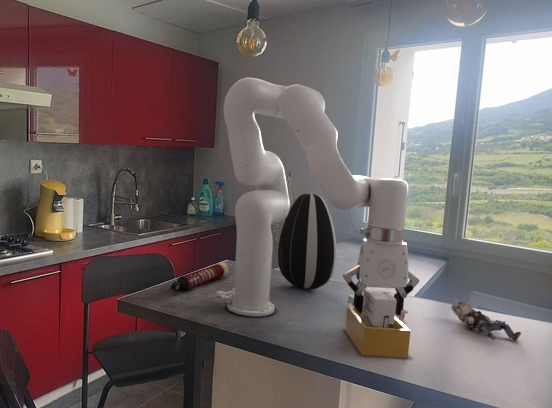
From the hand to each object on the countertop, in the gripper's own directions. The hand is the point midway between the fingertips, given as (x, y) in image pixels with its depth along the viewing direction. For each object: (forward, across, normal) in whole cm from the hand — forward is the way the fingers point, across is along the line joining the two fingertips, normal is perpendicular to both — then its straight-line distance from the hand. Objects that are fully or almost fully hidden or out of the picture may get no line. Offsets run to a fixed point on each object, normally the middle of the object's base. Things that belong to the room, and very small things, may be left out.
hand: (377, 311), depth 101 cm
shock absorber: (+8, -41, +39) cm, 57 cm away
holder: (+7, 0, 0) cm, 7 cm away
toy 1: (+8, +6, +18) cm, 20 cm away
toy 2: (+8, +30, +12) cm, 33 cm away
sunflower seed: (+8, -9, +41) cm, 43 cm away
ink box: (+8, 0, 0) cm, 8 cm away
